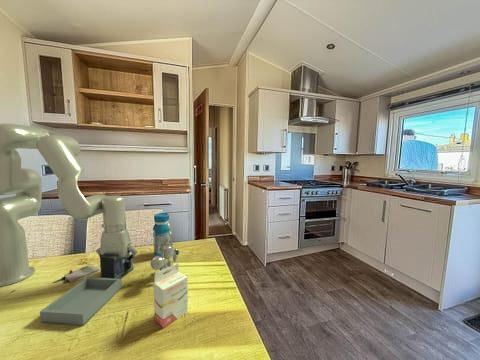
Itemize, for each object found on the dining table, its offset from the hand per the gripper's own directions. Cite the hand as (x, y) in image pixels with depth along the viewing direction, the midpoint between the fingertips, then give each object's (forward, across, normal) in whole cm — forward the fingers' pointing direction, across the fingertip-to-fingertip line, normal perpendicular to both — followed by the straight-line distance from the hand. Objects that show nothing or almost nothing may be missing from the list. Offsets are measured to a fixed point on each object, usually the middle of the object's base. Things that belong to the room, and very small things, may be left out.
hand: (117, 269), depth 83 cm
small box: (+3, 0, 0) cm, 3 cm away
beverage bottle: (+3, +10, +19) cm, 22 cm away
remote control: (+3, -16, -1) cm, 16 cm away
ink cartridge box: (+3, +30, -19) cm, 36 cm away
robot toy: (+3, +20, 0) cm, 20 cm away
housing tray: (+2, 0, -16) cm, 16 cm away
